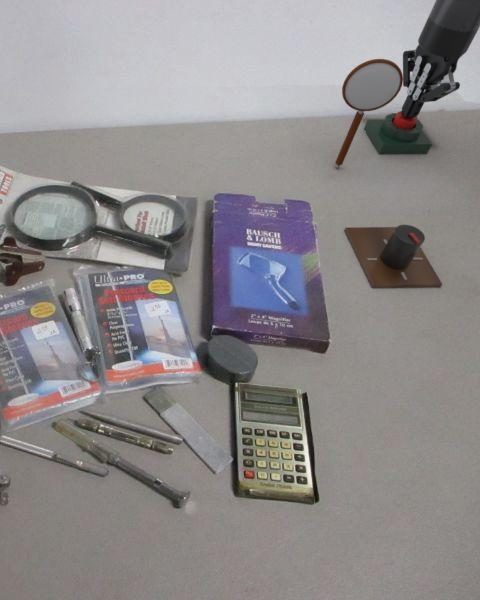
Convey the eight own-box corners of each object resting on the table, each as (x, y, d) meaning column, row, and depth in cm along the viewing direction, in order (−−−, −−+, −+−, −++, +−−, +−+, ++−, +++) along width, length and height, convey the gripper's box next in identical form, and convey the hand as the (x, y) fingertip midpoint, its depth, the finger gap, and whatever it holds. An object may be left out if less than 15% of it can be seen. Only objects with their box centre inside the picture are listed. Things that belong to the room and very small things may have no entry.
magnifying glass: (312, 168, 105) (354, 59, 90) (311, 162, 106) (353, 54, 91) (362, 173, 104) (414, 65, 89) (361, 167, 105) (411, 59, 90)
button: (408, 119, 109) (412, 110, 108) (416, 130, 107) (421, 121, 105) (389, 119, 109) (393, 110, 108) (397, 130, 107) (401, 121, 105)
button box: (409, 129, 113) (418, 110, 110) (426, 154, 108) (437, 135, 105) (363, 129, 113) (371, 110, 110) (378, 154, 108) (387, 135, 105)
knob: (375, 251, 88) (390, 225, 84) (399, 247, 88) (415, 221, 84) (390, 271, 85) (406, 244, 81) (414, 266, 86) (432, 240, 82)
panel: (401, 238, 93) (409, 225, 91) (434, 296, 86) (443, 283, 83) (339, 239, 93) (345, 226, 91) (366, 297, 85) (373, 284, 83)
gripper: (504, 35, 90) (448, 134, 103) (450, -2, 98) (405, 94, 111) (460, 39, 88) (409, 139, 102) (410, 2, 97) (369, 98, 110)
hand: (407, 115), depth 106 cm, fingers closed
